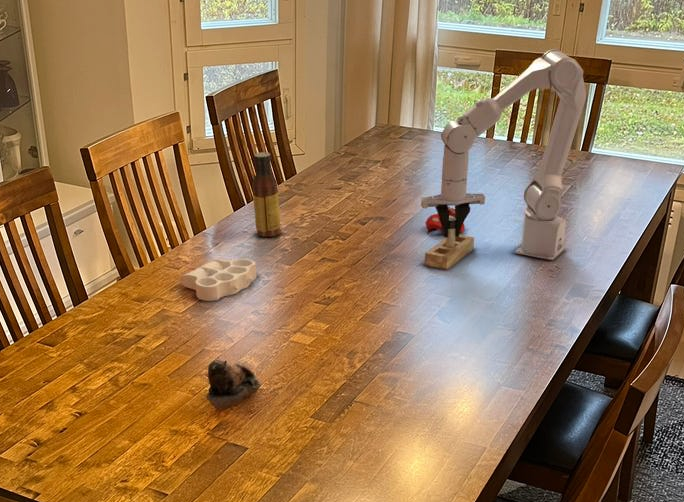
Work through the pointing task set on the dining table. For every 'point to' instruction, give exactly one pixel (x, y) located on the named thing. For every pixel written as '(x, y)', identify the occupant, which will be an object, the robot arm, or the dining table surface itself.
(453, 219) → the marker
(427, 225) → the red curved piece
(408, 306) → the dining table surface
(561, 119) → the robot arm
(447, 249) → the pen block
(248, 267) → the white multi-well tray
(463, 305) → the dining table surface
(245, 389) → the bison figurine
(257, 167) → the sauce bottle
